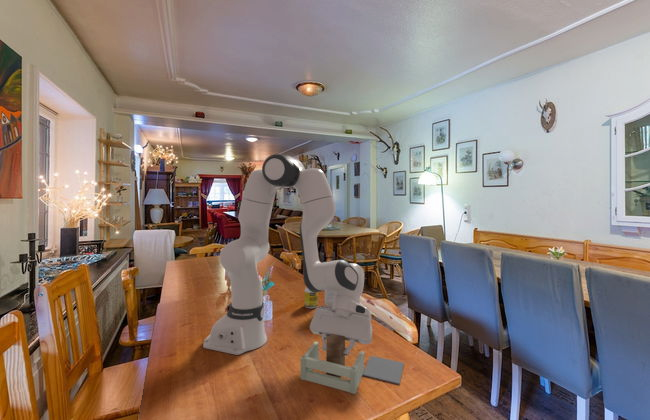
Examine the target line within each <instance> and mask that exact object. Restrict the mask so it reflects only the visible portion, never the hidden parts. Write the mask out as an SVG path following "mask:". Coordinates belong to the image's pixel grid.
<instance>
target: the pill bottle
mask: <svg viewBox="0 0 650 420" xmlns="http://www.w3.org/2000/svg"><path fill="white" fill-rule="evenodd" d="M304 306H305V308H307V309H314V308H315V309H316V308H317V307H319V292H312V291H310V290H309V289H308V288H307V286H305V289H304Z"/></svg>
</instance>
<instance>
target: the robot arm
mask: <svg viewBox="0 0 650 420" xmlns="http://www.w3.org/2000/svg"><path fill="white" fill-rule="evenodd" d="M279 189H295V190H296V191H297V193H298V196H299V198H300V204H301V207H302V220H301V222H300V224H299V236H300V237H299V238H300V245H301V246H300V247H301V254H302V263H303V273H302V274H303V276H302V277H303V279H302V280H303V282H304V284H305V287H307V288H308V289H309V290H310V291H312V292H318V293H320V292H325V291H326V290H335V291H336V292H337V294H336V296H335V299H334V303H333V306H332V307H325V305H320V306H317V307H316V308H315V309H314V313H313V317H312V319H311V322H310V324H309V329H310V331H311V332H312V334H314V335H318V336H319V335H320V336H321V341H322V346H321V350H322V351H324V352H326V340H327V338H328V337H329V335H330V334H336V335H341V336H345V341H348V342H349V345H348V346H347V347H345V348H344V351H343V354H344V355H345V357H349V356H350V353H351V351H352V350H353V348H354V347H356V346H355V345H356V343H359V344H362V345H363V344H364V345H367V346H369V345H370V344H371V342H372V338H373V325H372V323H371V322H372V314H371V312H370V309H369V308H367V307H365V306H363V305H361V296H362V294H363V292H364V285H365V271H364V269H363V267H362V266H361V265H359V264H357V263H353V262H348V261H347V260H344V259H337V260H330V261H324V262H321V261H320V257H319V250H318V236H319V233H320V232H321V231H322V230H324V228H325V227H327V226H328V225H329V224H330V223H331V222H332V221H333V220H334V217H335V216H336V209H337V208H336V202H335V199H334V195H333V192H332V188H331V186H330V183H329V181H328V179H327V176H326V174H325V172H324V171H323V170H322V169H320V168H316V167H310V168H307V167H306V164H304V162H302V161H301V160H300V159H298V158H295V157H294V156H291V155H286V154H283V153H275V154H271V155H270V156H268V157H266V158H265V160H264V161H263V163H262V166H261V169H255V170H253V171H251V173H250V174H249V175H248V178H247V181H246V184H245V186H244V190H243V193H242V198H241V203H240V206H239V207H240V208H239V212H238V216H237V217H238V219H237V220H238V221H239V224H240V236H239V238H237V239H234V240H232V241H230V242H229V243H227V244H226V245H225V246H224V247H222V249H221V250H220V253H219V263H220V265H221V267H222V269H224V270H225V271H226V272H227V275H228V278H229V282H230V291H231V293H230V294H231V295H230V296H231V301H230V303H229V304H228V305H226V307H225V309H224V313H226V314H225V315H223V316H222V317H221V318H219V319H218V320H217V321H216V322H215V323H214V324H213V325H212V328H211V329H210V334H209V335H208V336H207V337H206V338H204V341H203V343H202V344H203V345H202V348H203V349H207V350H212V351H216V352H222V353H226V354H231V355H235V356H237V355H242V354H244V353H246V352H249V351H252V350H256V349H258V348H260V347H262V346H264V345H265V344H266V342H267V341H268V337H267V334H266V330H265V329H266V328H265V323H264V316H265V305H264V301H263V281H262V279H260V276H259V273H258V263H260V262H262V261H263V260H264V259H265V258H266V257H267V255H268V254H269V252H270V243H269V228H270V222H271V221H270V220H271V216H272V212H273V211H272V210H273V205H274V201H275V197H276V193H277V192H278V190H279Z"/></svg>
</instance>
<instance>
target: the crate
mask: <svg viewBox="0 0 650 420" xmlns="http://www.w3.org/2000/svg"><path fill="white" fill-rule="evenodd" d="M319 344H320V342H319V341H314V342H313V343H312V345H311V346H310V347H309V348H308V349H307V350H306V352H305V353H304V354H303V355H301V357H300V380H302V381H308V382H311V383H315V384H318V385H322V386H325V387H330V388H333V389H336V390H340V391H344V392H347V393H350V394H353V395H356V394H357V391H358V388H359V385H360V384H361V383H360V382H361V381H362V378H363V377H364V376H363V372H364V370H365V352H364V351H362V350H361V351H359V354H358V355H357V357H356V359H355V361H354V363H353V365H352V366H349V365H345V366H344V365H340V364H336V363H332V362H328V361H326V360H322V359H319V357H320V356H319V355H320V350H319V348H320V347H319V346H320V345H319ZM314 370H317V371H314ZM318 371H320V372H318ZM321 372H324V373H321ZM326 372H327V373H331V374H335V375H339V376H341V377H340V378H339V377H335V376H331V375H327V374H326ZM342 377H344V378H342ZM346 378H347V379H346ZM348 379H349V380H348Z"/></svg>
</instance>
